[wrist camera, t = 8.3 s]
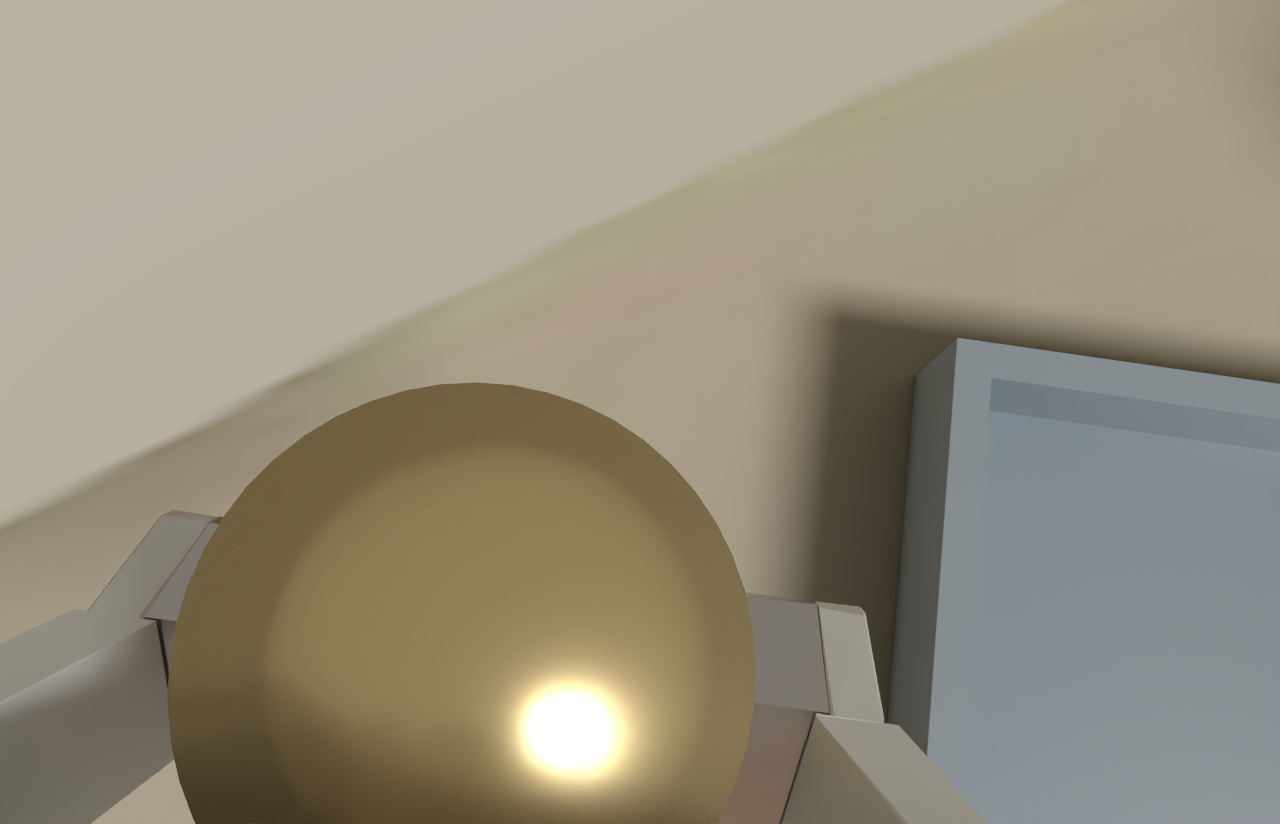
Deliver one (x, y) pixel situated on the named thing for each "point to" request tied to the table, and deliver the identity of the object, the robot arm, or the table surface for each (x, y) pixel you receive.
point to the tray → (1092, 589)
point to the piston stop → (463, 627)
